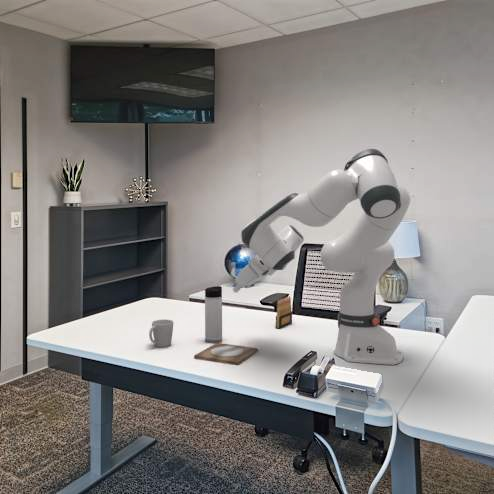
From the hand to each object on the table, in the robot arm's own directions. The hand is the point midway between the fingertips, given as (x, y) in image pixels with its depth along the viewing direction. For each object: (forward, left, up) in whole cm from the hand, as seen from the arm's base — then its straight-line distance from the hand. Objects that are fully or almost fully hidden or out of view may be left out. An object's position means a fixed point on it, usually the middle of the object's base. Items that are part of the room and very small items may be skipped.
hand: (240, 288), depth 175 cm
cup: (+25, +13, -21) cm, 35 cm away
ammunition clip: (-5, -32, -21) cm, 38 cm away
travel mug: (+11, -1, -21) cm, 23 cm away
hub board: (-1, +12, -20) cm, 24 cm away
